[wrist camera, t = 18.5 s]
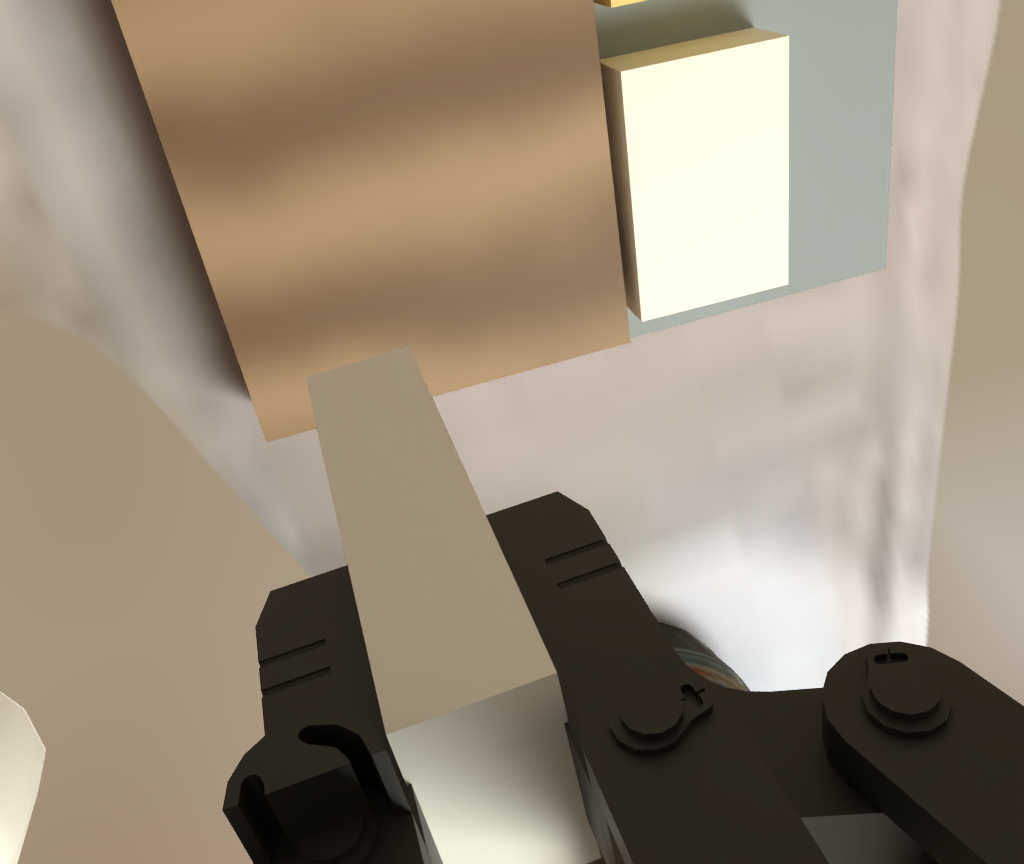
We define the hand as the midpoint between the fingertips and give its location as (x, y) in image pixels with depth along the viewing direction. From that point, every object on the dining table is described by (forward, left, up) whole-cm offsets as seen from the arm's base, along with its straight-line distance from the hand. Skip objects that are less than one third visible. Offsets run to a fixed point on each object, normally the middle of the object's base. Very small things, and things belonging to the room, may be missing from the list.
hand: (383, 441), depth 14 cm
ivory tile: (+4, +14, -21) cm, 26 cm away
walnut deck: (-1, +3, -22) cm, 22 cm away
